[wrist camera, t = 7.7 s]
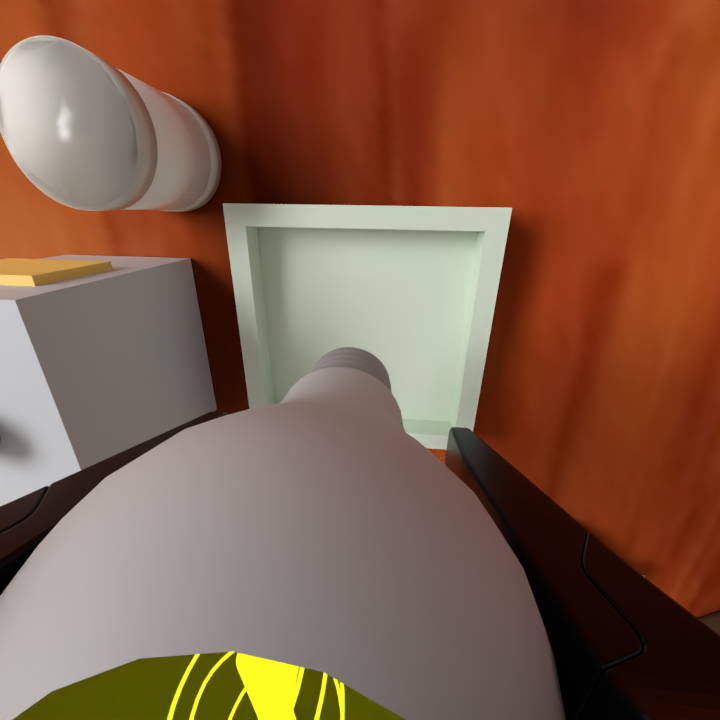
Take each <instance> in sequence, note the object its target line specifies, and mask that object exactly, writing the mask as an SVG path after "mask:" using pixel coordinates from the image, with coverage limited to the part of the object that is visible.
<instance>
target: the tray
mask: <svg viewBox="0 0 720 720" xmlns="http://www.w3.org/2000/svg"><path fill="white" fill-rule="evenodd" d="M222 204H223V212H224V219H225V227H226V234H227V242H228V250H229V257H230V265H231V272H232V280H233V288H234V295H235V303H236V310H237V318H238V326H239V333H240V341H241V348H242V356H243V364H244V371H245V379H246V387H247V394H248V402H249V409H251V408H255V407H258V406H263V405H270V404H278V403H280V402H281V401H282V400H283V399H284V397H285V396H286V395H287V393H288V392H289V390H290V389H291V388H292V386H293V385H294V384H296V383H297V382H298V381H299V380H300V379H301V378H303V377H305V376H306V375H308V374H309V372H310V371H311V370H312V368H313V367H314V366H315V365H316V363H317V362H318V360H319V359H320V358H321V357H322V356H324V355H325V354H326V353H328V352H330V351H332V350H335V349H337V348H343V347H355V348H359V349H363V350H365V351H368V352H370V353H371V354H373V355H374V356H376V357H377V358H378V359H379V360H380V361H381V362H382V363H383V365H384V366H385V368H386V370H387V372H388V375H389V379H390V383H391V391H392V395H393V396H394V398H395V399H396V401H397V403H398V405H399V408H400V410H401V416H402V422H403V428H404V430H405V433H407V434H408V435H410V436H412V437H413V438H415V439H416V440H417V441H419V442H420V443H421V444H422V445H423V446H424V447H425V448H431V449H447V442H448V435H449V430H450V429H451V428H452V427H463V428H469V429H470V430H471V431H472V432H473V429H474V423H475V418H476V412H477V406H478V400H479V395H480V389H481V383H482V378H483V372H484V366H485V361H486V355H487V349H488V343H489V338H490V332H491V326H492V321H493V315H494V309H495V304H496V298H497V292H498V286H499V281H500V275H501V269H502V264H503V258H504V252H505V247H506V241H507V235H508V229H509V224H510V218H511V212H512V208H499V207H435V206H372V205H308V204H244V203H222Z"/></svg>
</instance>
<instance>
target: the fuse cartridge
mask: <svg viewBox="0 0 720 720" xmlns="http://www.w3.org/2000/svg"><path fill="white" fill-rule="evenodd" d="M0 131H1V134H2V136H3V139H4V141H5V144H6V146H7V148H8V150H9V152H10V154H11V155H12V157H13V159H14V160H15V162H16V163H17V165H18V166H19V168H20V169H21V170H22V172H23V173H24V174H25V175H26V176H27V177H28V179H29V180H30V181H31V182H32V183H33V184H34V185H35V186H36V187H37V188H38V189H40V190H41V191H42V192H43V193H45V194H46V195H47V196H49V197H51V198H52V199H54V200H55V201H57V202H59V203H61V204H63V205H66V206H68V207H71V208H75V209H79V210H88V211H115V210H121V209H126V210H163V211H170V212H187V211H192V210H196V209H198V208H200V207H202V206H203V205H205V204H206V203H207V202H208V201H209V200H210V199H211V198H212V197H213V195H214V194H215V192H216V190H217V188H218V186H219V182H220V179H221V172H222V161H221V153H220V148H219V145H218V142H217V139H216V137H215V135H214V133H213V131H212V129H211V127H210V126H209V124H208V123H207V121H206V120H205V119H204V118H203V117H202V115H201V114H200V113H199V112H197V111H196V110H195V109H194V108H193V107H191V106H190V105H188V104H187V103H185V102H183V101H181V100H179V99H177V98H175V97H174V96H172V95H170V94H167V93H164V92H161V91H159V90H157V89H155V88H153V87H151V86H150V85H148V84H146V83H144V82H142V81H140V80H138V79H136V78H134V77H133V76H131V75H129V74H127V73H125V72H123V71H121V70H119V69H117V68H116V67H115V66H113V65H112V64H110V63H109V62H108V61H106V60H104V59H102V58H101V57H99V56H97V55H95V54H93V53H91V52H89V51H88V50H86V49H84V48H82V47H80V46H78V45H76V44H75V43H73V42H70V41H68V40H65V39H62V38H59V37H54V36H34V37H30V38H27V39H24V40H22V41H21V42H19V43H17V44H16V45H15V46H14V47H12V48H11V49H10V50H9V51H8V53H7V54H6V55H5V57H4V58H3V60H2V62H1V64H0Z"/></svg>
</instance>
